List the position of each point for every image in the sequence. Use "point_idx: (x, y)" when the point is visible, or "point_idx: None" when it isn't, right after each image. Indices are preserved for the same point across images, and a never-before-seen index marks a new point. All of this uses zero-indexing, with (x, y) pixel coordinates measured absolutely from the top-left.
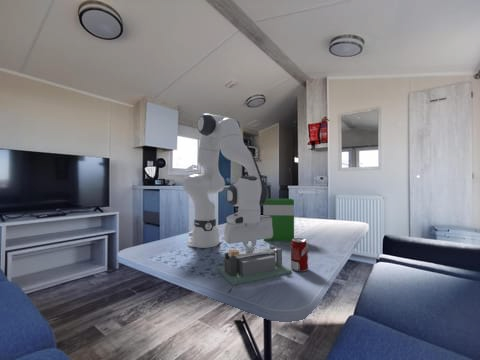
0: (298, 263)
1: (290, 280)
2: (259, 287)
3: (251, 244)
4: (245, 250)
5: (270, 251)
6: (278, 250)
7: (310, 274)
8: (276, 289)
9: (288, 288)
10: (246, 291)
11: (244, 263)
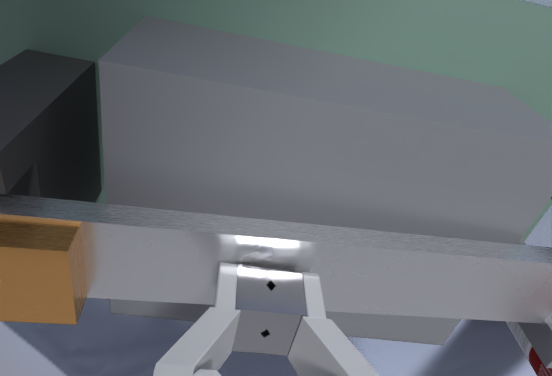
0: (527, 358)
1: (367, 339)
2: (177, 320)
3: (320, 349)
4: (219, 270)
5: (495, 318)
6: (547, 360)
7: (508, 344)
8: (237, 359)
9: (289, 372)
10: (91, 318)
11: (127, 306)
